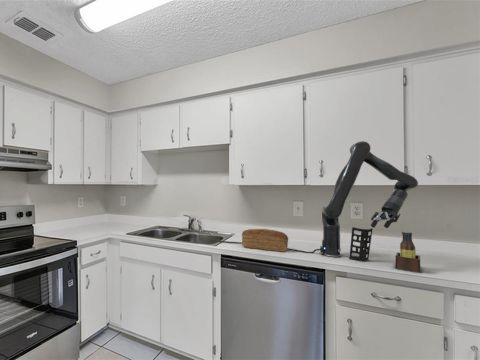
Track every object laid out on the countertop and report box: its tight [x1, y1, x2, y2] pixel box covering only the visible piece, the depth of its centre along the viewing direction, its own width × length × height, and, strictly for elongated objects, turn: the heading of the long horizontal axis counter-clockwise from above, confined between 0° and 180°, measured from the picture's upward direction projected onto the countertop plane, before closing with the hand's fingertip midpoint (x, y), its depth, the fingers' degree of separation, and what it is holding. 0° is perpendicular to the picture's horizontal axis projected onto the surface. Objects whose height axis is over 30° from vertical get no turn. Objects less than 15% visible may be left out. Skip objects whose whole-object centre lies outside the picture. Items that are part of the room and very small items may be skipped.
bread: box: [241, 228, 289, 252], centre depth 187 cm, size 12×31×14 cm, turn 61°
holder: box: [348, 226, 374, 262], centre depth 160 cm, size 11×8×20 cm
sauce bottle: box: [399, 231, 417, 259], centre depth 145 cm, size 7×6×20 cm
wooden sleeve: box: [394, 252, 421, 274], centre depth 145 cm, size 10×11×7 cm
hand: (378, 226), depth 151 cm, fingers open, 8 cm apart
